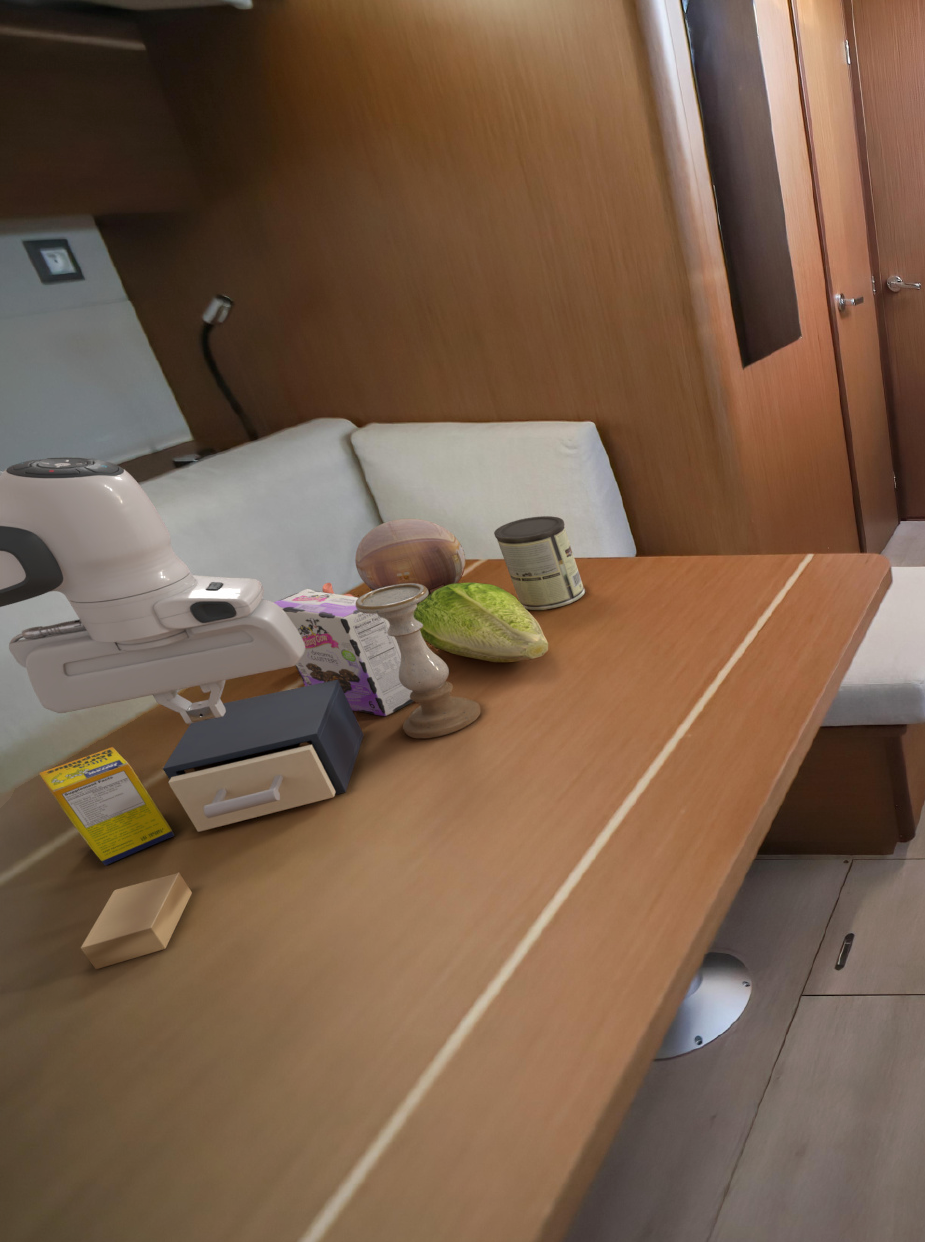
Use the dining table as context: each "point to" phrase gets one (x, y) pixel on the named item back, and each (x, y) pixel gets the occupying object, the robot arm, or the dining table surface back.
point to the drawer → (252, 785)
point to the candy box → (347, 650)
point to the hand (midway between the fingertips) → (207, 718)
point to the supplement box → (107, 805)
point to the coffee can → (540, 562)
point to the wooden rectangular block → (137, 921)
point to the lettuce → (480, 623)
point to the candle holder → (419, 664)
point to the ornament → (410, 555)
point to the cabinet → (277, 731)
